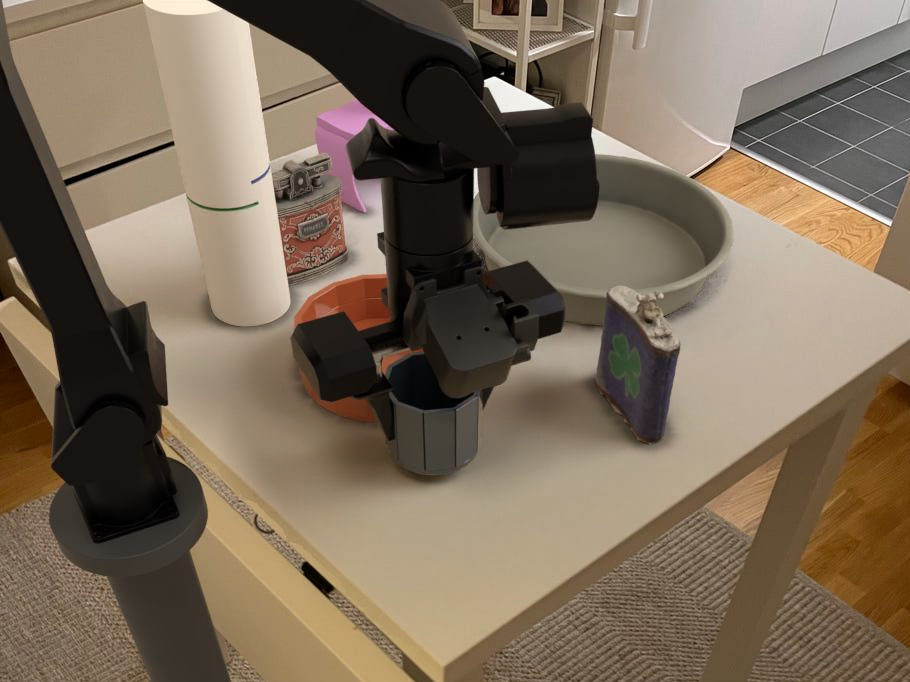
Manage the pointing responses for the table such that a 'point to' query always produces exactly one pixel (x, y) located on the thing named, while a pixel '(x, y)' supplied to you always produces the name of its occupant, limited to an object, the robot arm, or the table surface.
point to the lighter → (310, 218)
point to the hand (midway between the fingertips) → (433, 423)
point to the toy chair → (343, 144)
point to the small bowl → (431, 420)
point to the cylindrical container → (222, 156)
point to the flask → (637, 361)
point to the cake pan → (621, 240)
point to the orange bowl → (364, 311)
